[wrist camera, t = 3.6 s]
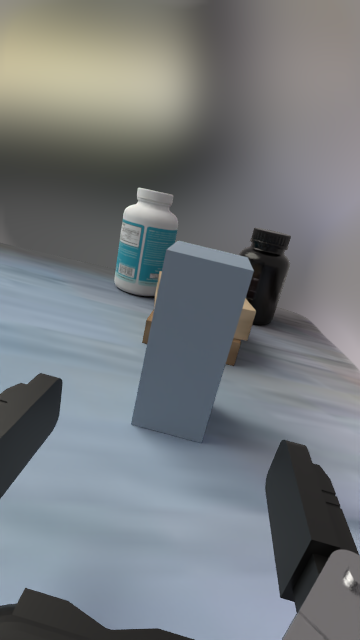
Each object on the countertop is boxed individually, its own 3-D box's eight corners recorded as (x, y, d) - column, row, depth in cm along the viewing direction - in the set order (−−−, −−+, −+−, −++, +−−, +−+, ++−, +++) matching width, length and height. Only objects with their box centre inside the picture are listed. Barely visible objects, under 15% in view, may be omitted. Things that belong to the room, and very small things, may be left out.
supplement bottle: (242, 305, 51) (266, 228, 46) (279, 323, 46) (309, 240, 42) (213, 308, 46) (237, 223, 42) (252, 329, 42) (282, 235, 37)
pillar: (131, 424, 20) (166, 249, 16) (147, 386, 24) (178, 240, 20) (201, 443, 20) (253, 270, 16) (205, 401, 24) (247, 257, 20)
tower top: (153, 324, 29) (159, 293, 28) (154, 295, 38) (159, 270, 37) (247, 340, 31) (256, 311, 30) (228, 309, 39) (235, 285, 38)
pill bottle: (165, 288, 51) (184, 197, 46) (162, 302, 44) (184, 197, 39) (118, 277, 50) (132, 185, 45) (107, 290, 43) (123, 183, 38)
